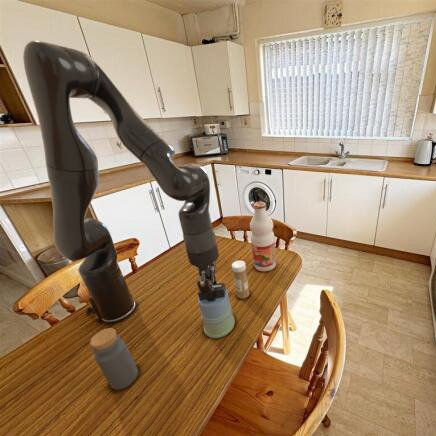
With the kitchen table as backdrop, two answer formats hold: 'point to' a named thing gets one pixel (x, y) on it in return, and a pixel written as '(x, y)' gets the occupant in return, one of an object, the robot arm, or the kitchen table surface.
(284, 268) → the kitchen table surface
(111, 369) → the bottle
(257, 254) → the fruit juice
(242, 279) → the sprinkles bottle
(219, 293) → the clip
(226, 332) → the stacked cups
